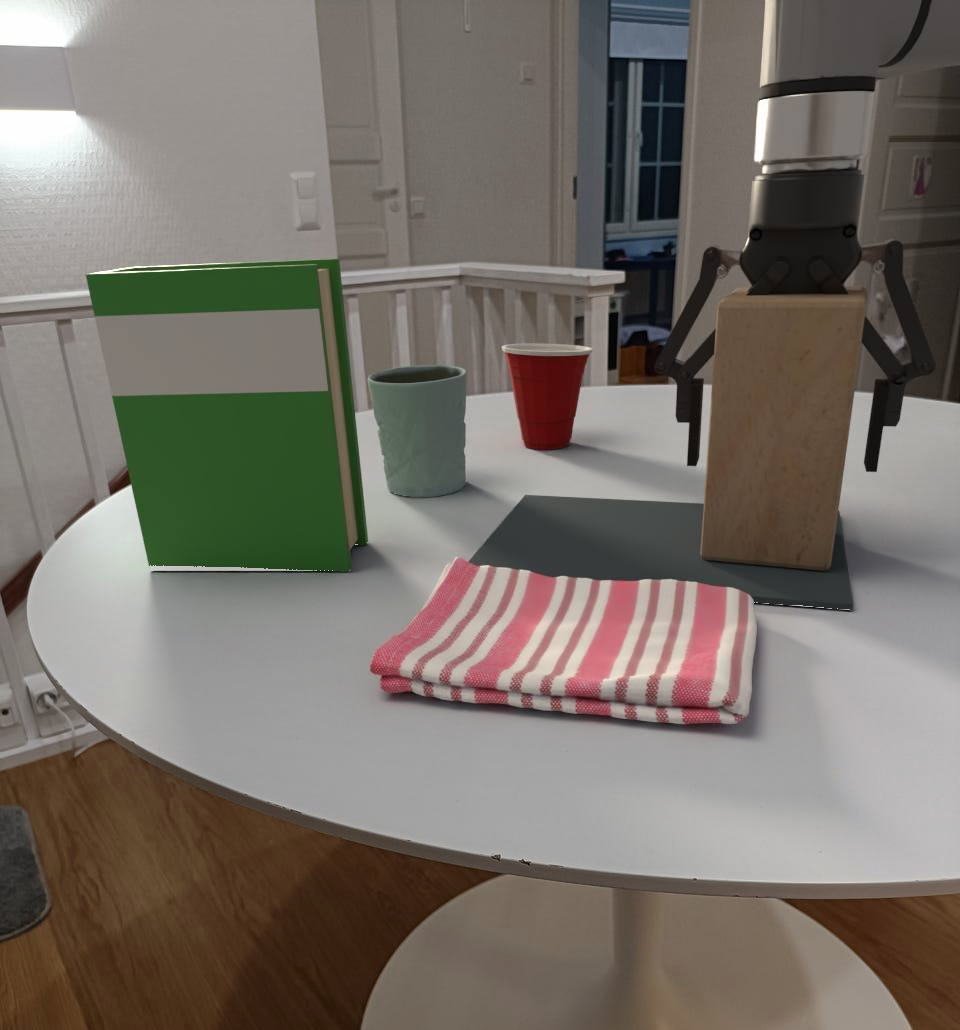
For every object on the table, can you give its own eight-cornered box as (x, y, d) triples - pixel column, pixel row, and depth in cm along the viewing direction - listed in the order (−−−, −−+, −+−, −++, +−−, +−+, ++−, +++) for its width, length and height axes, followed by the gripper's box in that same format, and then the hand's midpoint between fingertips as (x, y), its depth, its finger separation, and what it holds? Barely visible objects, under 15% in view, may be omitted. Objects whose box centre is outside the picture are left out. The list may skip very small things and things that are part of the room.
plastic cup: (609, 442, 113) (612, 341, 107) (548, 460, 106) (548, 353, 101) (547, 429, 120) (546, 334, 115) (486, 445, 114) (482, 346, 108)
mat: (838, 516, 84) (839, 509, 84) (852, 611, 65) (853, 604, 65) (525, 500, 93) (525, 494, 92) (457, 580, 74) (457, 574, 74)
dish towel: (447, 594, 71) (445, 552, 70) (756, 615, 65) (760, 570, 64) (366, 700, 57) (361, 650, 55) (754, 740, 51) (760, 685, 49)
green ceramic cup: (489, 480, 100) (485, 367, 94) (434, 505, 92) (426, 385, 87) (416, 469, 105) (408, 362, 100) (358, 492, 98) (346, 378, 92)
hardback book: (368, 541, 83) (339, 258, 73) (348, 572, 77) (313, 265, 66) (184, 542, 85) (130, 267, 75) (150, 571, 79) (85, 274, 68)
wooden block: (717, 522, 82) (735, 286, 73) (834, 532, 79) (868, 285, 70) (699, 561, 74) (716, 300, 65) (829, 573, 70) (867, 299, 62)
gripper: (995, 158, 64) (942, 456, 73) (638, 178, 71) (631, 448, 80) (1018, 155, 57) (957, 483, 67) (622, 178, 64) (617, 471, 74)
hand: (779, 465), depth 73 cm, fingers open, 13 cm apart
